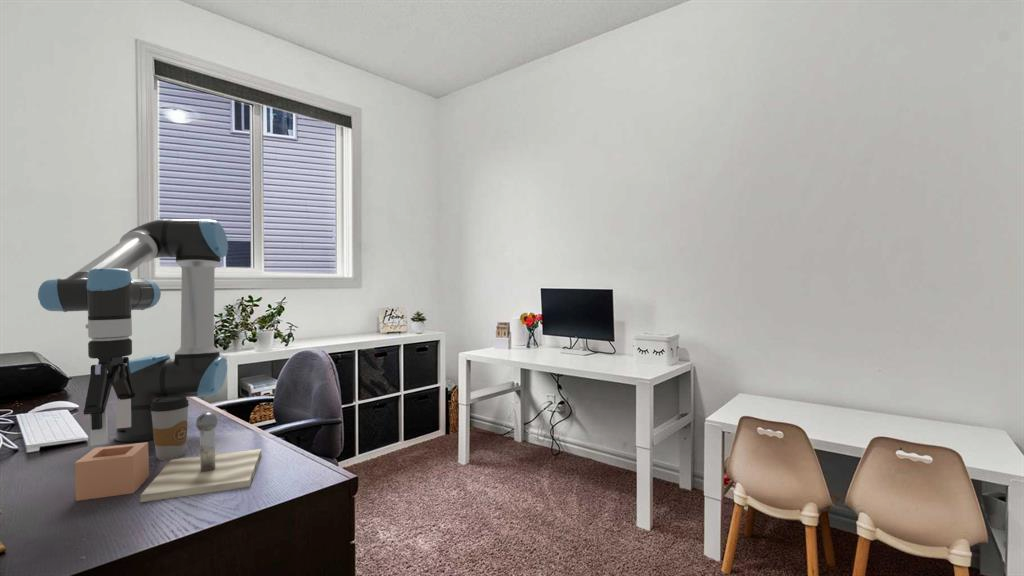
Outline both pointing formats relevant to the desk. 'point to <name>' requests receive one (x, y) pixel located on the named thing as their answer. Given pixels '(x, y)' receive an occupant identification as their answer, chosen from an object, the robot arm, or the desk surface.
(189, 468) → the wooden peg stand
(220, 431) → the desk surface
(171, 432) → the coffee cup
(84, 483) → the open top tan bin
